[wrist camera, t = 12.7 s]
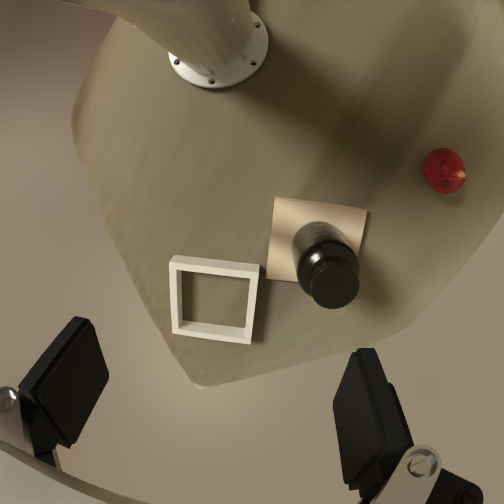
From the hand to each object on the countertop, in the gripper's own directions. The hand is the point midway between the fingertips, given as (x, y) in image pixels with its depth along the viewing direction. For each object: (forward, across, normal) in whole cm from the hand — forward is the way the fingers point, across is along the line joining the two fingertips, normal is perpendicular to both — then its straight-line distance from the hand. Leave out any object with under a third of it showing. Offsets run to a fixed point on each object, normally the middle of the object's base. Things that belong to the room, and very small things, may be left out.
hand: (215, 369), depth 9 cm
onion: (+30, -24, -6) cm, 38 cm away
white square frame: (+29, +5, +16) cm, 33 cm away
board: (+29, -8, +6) cm, 31 cm away
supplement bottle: (+28, -8, +6) cm, 30 cm away
